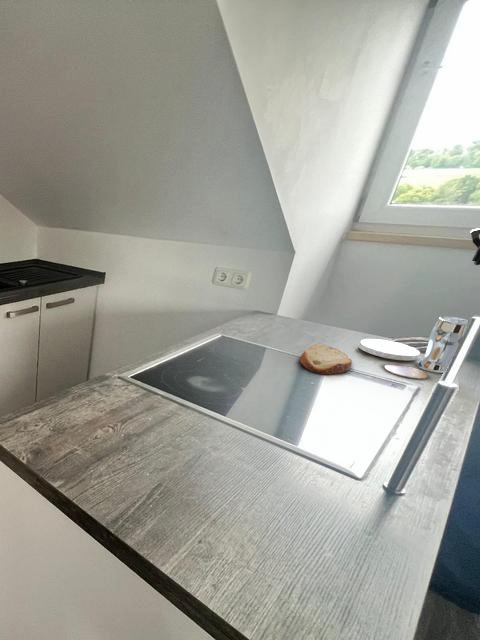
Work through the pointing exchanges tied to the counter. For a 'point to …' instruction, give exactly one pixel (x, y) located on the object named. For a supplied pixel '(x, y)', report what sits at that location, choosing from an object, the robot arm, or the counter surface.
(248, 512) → the counter surface
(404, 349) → the plastic lid
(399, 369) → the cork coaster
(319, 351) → the bread slice
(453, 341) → the beer glass
